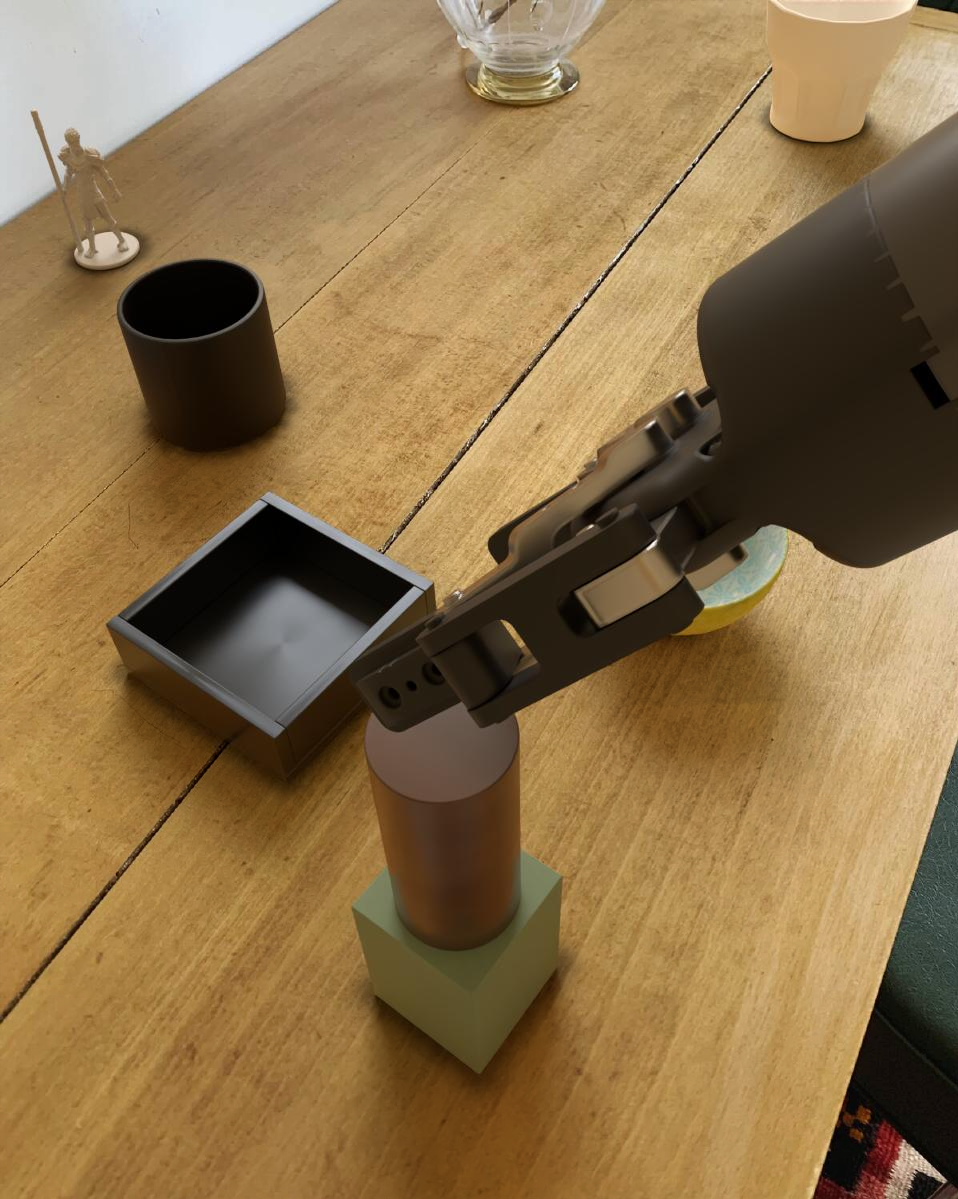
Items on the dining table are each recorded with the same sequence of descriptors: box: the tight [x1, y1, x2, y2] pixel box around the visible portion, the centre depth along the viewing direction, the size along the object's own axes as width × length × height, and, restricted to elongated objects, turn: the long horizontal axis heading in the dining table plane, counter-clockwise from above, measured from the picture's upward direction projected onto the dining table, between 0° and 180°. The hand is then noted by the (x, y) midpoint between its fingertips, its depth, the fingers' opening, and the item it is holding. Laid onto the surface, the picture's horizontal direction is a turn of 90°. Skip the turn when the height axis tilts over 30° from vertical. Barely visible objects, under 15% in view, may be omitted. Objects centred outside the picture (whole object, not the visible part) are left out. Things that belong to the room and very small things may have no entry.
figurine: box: [30, 108, 141, 271], centre depth 87 cm, size 5×5×12 cm
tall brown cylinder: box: [363, 702, 522, 951], centre depth 40 cm, size 5×5×11 cm
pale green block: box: [350, 848, 564, 1075], centre depth 47 cm, size 6×6×9 cm
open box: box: [105, 490, 438, 785], centre depth 62 cm, size 13×13×4 cm
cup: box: [765, 0, 919, 143], centre depth 98 cm, size 12×12×11 cm
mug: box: [116, 257, 287, 452], centre depth 75 cm, size 9×12×9 cm
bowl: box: [670, 525, 790, 636], centre depth 63 cm, size 11×12×6 cm
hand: (445, 624), depth 32 cm, fingers open, 8 cm apart
